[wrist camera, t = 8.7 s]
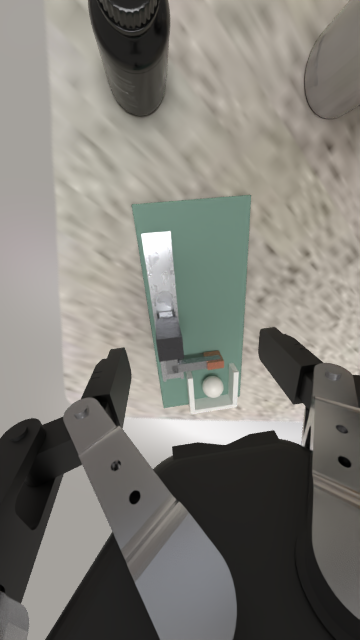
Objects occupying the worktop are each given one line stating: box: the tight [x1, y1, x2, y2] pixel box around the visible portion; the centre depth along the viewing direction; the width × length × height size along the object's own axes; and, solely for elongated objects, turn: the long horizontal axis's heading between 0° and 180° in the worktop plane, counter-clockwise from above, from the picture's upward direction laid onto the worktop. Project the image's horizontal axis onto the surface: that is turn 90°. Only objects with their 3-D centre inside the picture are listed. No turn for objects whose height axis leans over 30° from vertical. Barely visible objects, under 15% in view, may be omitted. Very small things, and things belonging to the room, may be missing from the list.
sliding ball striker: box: [156, 311, 224, 375], centre depth 35 cm, size 12×12×10 cm
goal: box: [186, 363, 239, 414], centre depth 44 cm, size 10×10×3 cm
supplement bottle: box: [88, 0, 170, 116], centre depth 19 cm, size 7×7×12 cm
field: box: [132, 195, 251, 408], centre depth 39 cm, size 18×41×1 cm, turn 5°
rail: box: [141, 231, 184, 382], centre depth 36 cm, size 4×28×2 cm, turn 5°
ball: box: [202, 376, 223, 398], centre depth 43 cm, size 4×4×4 cm
